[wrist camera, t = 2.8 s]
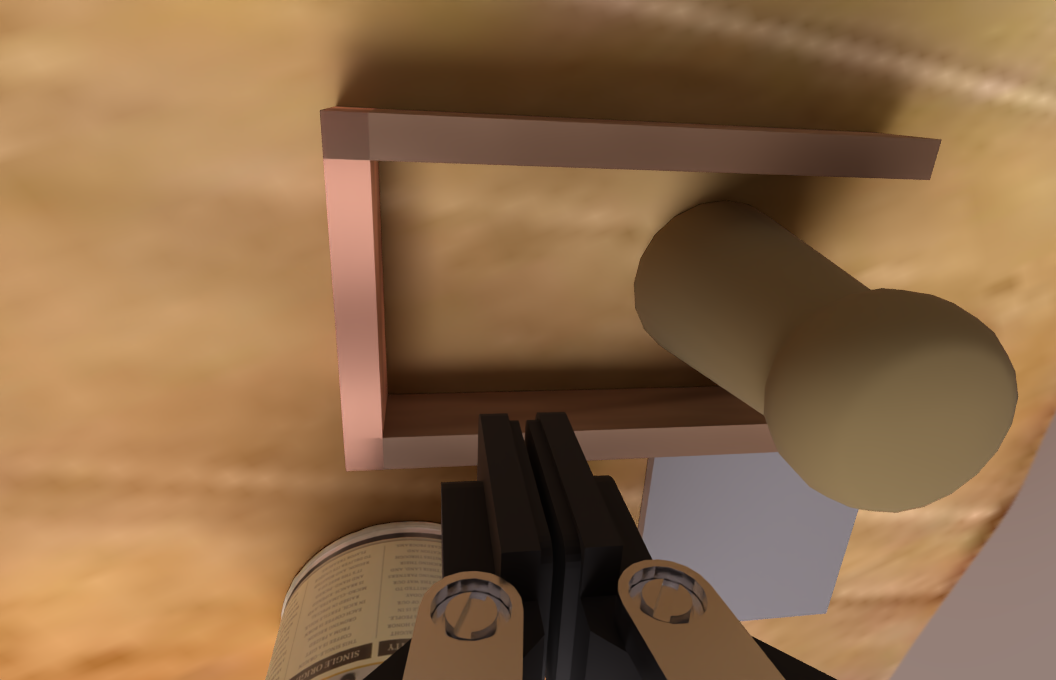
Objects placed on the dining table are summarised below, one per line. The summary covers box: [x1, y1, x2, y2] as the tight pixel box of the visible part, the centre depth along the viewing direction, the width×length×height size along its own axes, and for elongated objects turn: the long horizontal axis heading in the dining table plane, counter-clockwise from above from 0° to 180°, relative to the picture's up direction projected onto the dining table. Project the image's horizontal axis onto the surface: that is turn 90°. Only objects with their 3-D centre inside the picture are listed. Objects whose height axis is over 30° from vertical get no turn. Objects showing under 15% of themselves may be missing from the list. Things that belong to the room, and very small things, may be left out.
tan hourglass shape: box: [634, 200, 1018, 513], centre depth 18 cm, size 6×6×11 cm
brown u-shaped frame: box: [320, 106, 941, 471], centre depth 21 cm, size 11×18×3 cm, turn 87°
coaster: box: [638, 452, 858, 621], centre depth 27 cm, size 10×10×1 cm
